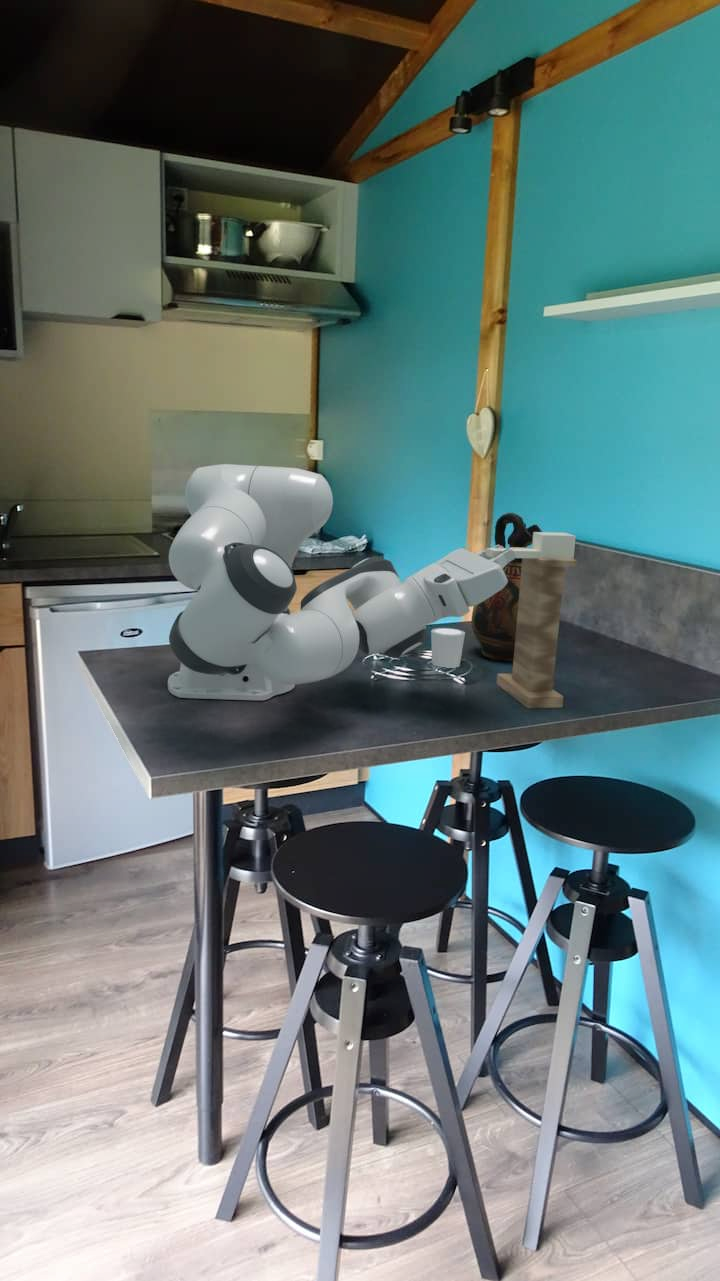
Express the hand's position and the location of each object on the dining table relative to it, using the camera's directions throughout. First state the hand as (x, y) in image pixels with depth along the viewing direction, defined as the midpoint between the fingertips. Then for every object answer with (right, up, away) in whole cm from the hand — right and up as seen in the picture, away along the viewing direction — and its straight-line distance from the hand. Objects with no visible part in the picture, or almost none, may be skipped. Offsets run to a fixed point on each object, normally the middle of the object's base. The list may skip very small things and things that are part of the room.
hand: (507, 550), depth 157 cm
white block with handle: (+4, -1, +1) cm, 4 cm away
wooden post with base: (+6, -25, +12) cm, 28 cm away
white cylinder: (-8, -20, +30) cm, 37 cm away
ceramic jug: (+5, -19, +40) cm, 45 cm away
